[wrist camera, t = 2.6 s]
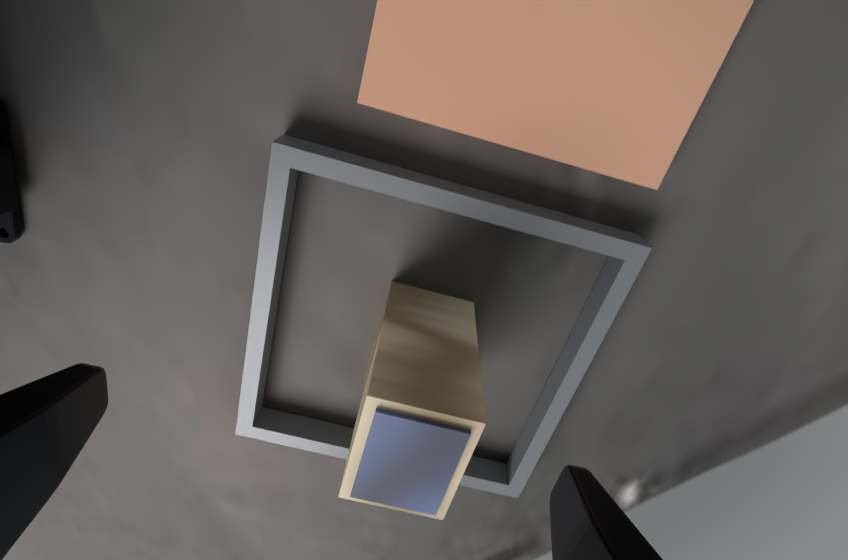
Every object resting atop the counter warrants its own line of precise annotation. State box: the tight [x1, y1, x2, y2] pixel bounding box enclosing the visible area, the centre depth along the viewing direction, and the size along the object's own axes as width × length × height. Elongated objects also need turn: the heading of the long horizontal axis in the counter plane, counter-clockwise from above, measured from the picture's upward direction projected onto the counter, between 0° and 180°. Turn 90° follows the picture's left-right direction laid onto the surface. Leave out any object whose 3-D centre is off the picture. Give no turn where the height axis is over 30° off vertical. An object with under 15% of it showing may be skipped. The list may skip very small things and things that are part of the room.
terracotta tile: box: [357, 0, 754, 190], centre depth 17 cm, size 12×10×1 cm
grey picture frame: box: [236, 135, 652, 498], centre depth 23 cm, size 16×16×2 cm
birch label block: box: [338, 281, 486, 520], centre depth 20 cm, size 4×5×8 cm
